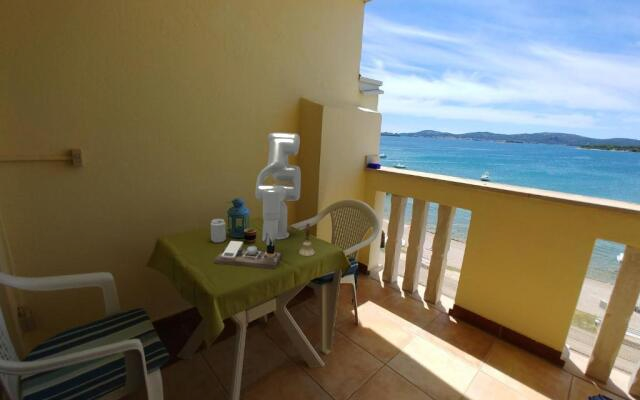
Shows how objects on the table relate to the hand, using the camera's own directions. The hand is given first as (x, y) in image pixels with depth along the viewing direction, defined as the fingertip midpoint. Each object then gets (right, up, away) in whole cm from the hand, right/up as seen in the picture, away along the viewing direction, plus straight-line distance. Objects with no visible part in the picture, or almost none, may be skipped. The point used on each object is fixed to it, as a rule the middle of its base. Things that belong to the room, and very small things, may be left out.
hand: (270, 252), depth 123 cm
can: (-33, +2, +22) cm, 40 cm away
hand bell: (+16, -3, +13) cm, 21 cm away
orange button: (0, -2, +1) cm, 2 cm away
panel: (-11, -4, +2) cm, 11 cm away
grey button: (-9, 0, +1) cm, 9 cm away
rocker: (-18, +1, +2) cm, 19 cm away
